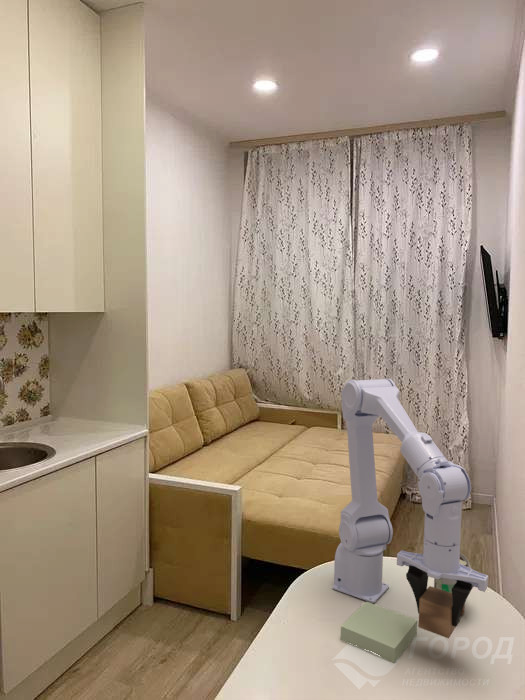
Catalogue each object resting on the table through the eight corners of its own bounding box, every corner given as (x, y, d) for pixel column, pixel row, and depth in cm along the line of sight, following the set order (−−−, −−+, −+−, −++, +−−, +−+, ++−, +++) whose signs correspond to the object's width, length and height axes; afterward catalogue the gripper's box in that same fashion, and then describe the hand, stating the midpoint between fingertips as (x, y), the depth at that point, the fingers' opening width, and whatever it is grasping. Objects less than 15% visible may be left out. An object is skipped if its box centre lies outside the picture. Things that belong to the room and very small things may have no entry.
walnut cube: (418, 627, 88) (419, 598, 88) (428, 613, 92) (429, 585, 92) (448, 638, 86) (450, 608, 85) (457, 623, 90) (459, 595, 89)
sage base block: (340, 642, 93) (340, 626, 93) (365, 616, 101) (366, 601, 101) (394, 665, 87) (394, 648, 87) (416, 636, 95) (417, 620, 95)
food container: (475, 629, 97) (478, 577, 96) (440, 625, 98) (442, 573, 97) (464, 594, 109) (466, 547, 108) (433, 590, 110) (434, 544, 109)
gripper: (390, 535, 89) (388, 613, 90) (481, 560, 80) (477, 646, 81) (406, 522, 94) (403, 595, 96) (492, 544, 86) (488, 624, 87)
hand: (438, 617), depth 89 cm, fingers closed on walnut cube, 5 cm apart
